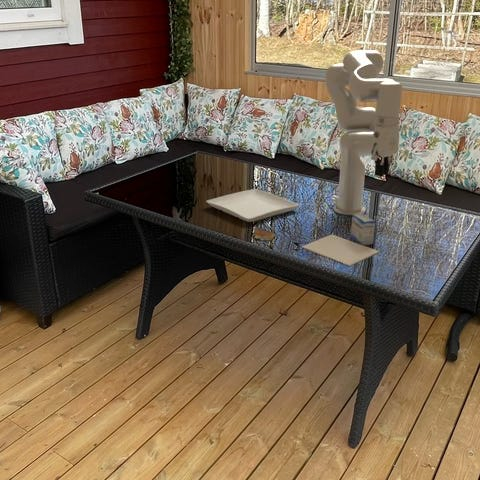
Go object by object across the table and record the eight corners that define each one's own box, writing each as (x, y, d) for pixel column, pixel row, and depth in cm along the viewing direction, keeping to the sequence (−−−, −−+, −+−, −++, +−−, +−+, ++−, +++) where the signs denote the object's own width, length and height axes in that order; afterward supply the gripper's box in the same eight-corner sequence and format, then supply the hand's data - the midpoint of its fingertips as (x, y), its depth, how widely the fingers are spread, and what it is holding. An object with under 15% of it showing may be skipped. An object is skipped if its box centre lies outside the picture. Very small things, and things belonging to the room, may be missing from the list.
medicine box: (350, 237, 194) (352, 214, 190) (360, 235, 195) (363, 212, 192) (362, 245, 187) (364, 222, 184) (373, 244, 188) (375, 220, 185)
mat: (301, 247, 185) (301, 246, 185) (331, 235, 195) (331, 234, 195) (349, 266, 172) (349, 265, 172) (379, 252, 182) (379, 251, 182)
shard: (255, 229, 202) (255, 225, 201) (276, 230, 201) (276, 225, 200) (253, 241, 192) (253, 236, 191) (275, 242, 191) (275, 237, 191)
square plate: (248, 228, 203) (248, 218, 202) (205, 208, 223) (204, 199, 221) (300, 212, 219) (300, 202, 218) (255, 195, 239) (255, 187, 237)
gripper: (382, 125, 173) (376, 182, 180) (410, 119, 183) (403, 173, 190) (362, 122, 178) (358, 177, 185) (390, 116, 188) (385, 168, 195)
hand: (381, 174), depth 187 cm, fingers closed
